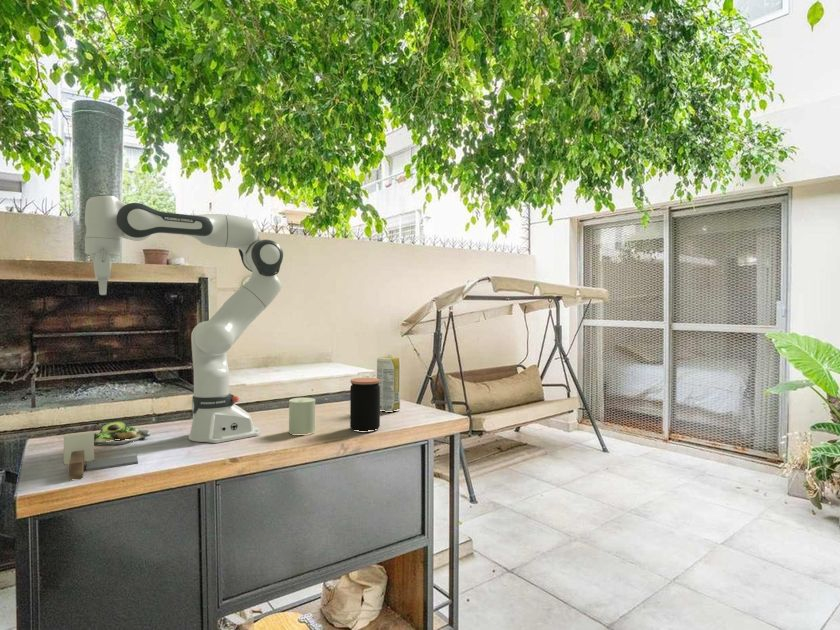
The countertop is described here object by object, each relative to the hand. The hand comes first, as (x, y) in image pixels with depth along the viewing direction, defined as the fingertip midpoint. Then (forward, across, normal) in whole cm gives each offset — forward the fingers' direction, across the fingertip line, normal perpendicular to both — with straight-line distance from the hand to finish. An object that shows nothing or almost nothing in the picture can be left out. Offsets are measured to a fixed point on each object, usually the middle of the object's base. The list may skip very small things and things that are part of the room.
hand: (102, 294), depth 149 cm
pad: (+47, -16, -2) cm, 50 cm away
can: (+48, -11, -59) cm, 76 cm away
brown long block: (+48, -20, +6) cm, 52 cm away
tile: (+47, -9, +6) cm, 49 cm away
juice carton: (+48, +4, -102) cm, 113 cm away
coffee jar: (+48, -18, -80) cm, 94 cm away
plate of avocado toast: (+48, +14, -4) cm, 50 cm away
